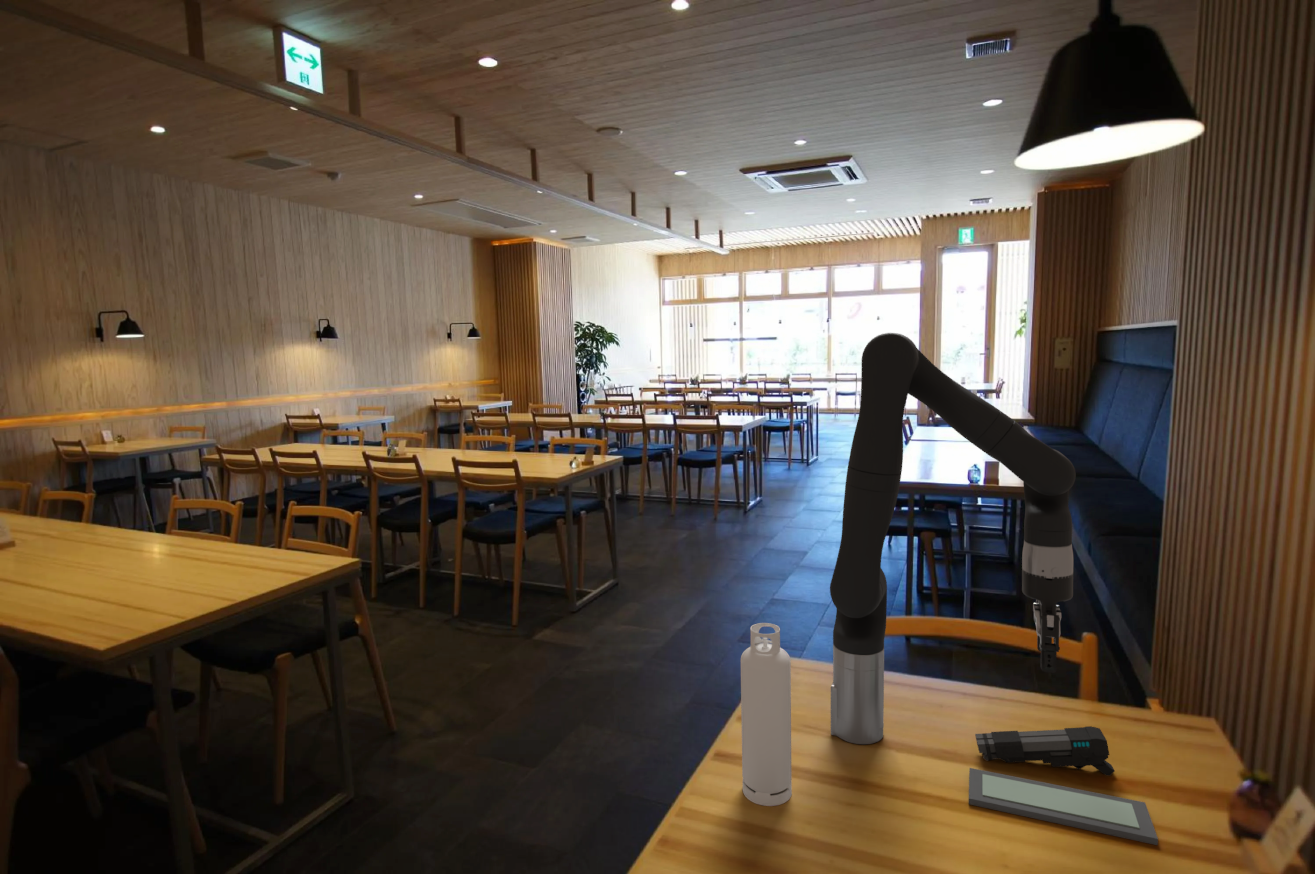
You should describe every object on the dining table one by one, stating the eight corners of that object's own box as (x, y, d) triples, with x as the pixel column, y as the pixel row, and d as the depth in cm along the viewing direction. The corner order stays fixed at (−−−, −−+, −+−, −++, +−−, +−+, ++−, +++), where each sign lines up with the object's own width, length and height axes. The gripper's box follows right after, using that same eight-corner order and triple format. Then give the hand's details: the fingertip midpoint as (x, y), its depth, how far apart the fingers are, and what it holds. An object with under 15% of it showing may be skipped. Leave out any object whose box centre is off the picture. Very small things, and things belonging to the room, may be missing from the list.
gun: (1121, 779, 117) (1100, 723, 117) (996, 799, 123) (976, 746, 123) (1112, 764, 121) (1092, 710, 121) (992, 784, 128) (973, 732, 127)
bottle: (795, 780, 120) (794, 621, 117) (787, 809, 112) (786, 640, 109) (748, 772, 122) (745, 617, 119) (737, 800, 115) (735, 635, 112)
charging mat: (968, 804, 112) (968, 796, 112) (969, 773, 120) (969, 766, 120) (1157, 845, 102) (1158, 837, 102) (1144, 808, 110) (1145, 801, 110)
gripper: (1020, 555, 127) (1019, 642, 128) (1024, 579, 114) (1023, 675, 115) (1068, 558, 123) (1067, 647, 125) (1078, 583, 111) (1076, 682, 112)
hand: (1046, 660), depth 120 cm, fingers open, 8 cm apart
